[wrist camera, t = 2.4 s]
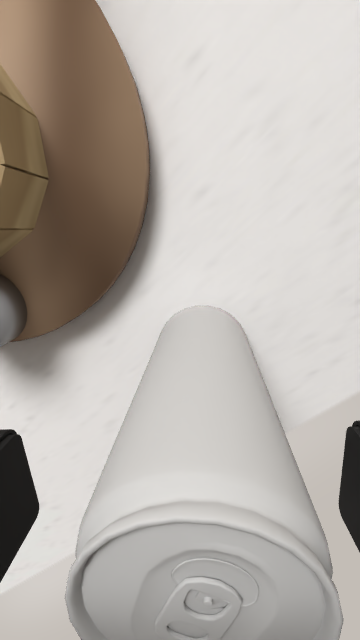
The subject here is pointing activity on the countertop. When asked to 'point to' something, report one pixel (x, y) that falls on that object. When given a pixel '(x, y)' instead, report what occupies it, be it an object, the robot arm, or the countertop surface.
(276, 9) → the countertop surface
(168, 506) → the beverage can
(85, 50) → the carrier
